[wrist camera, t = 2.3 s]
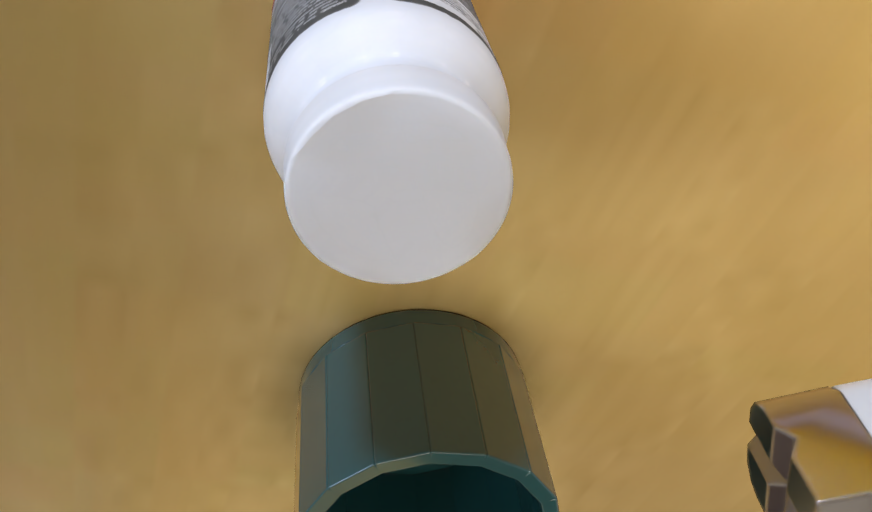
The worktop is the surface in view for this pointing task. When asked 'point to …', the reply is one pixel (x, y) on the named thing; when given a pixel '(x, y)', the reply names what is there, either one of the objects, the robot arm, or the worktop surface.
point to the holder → (418, 421)
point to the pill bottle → (388, 133)
